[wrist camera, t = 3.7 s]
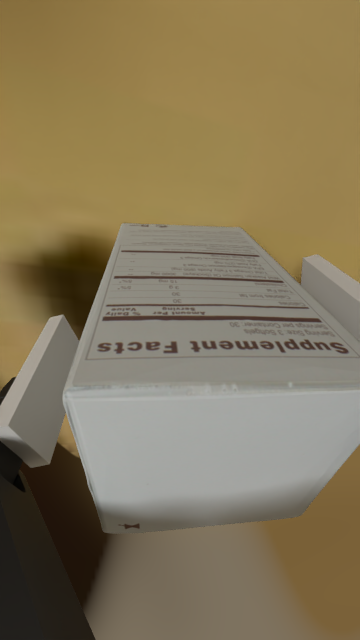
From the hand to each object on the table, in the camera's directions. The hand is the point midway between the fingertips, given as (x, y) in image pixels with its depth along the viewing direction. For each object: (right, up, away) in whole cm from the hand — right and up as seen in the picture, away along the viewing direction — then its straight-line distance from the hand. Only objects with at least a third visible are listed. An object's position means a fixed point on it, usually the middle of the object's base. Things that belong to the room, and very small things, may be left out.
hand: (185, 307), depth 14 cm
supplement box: (0, +2, +3) cm, 4 cm away
